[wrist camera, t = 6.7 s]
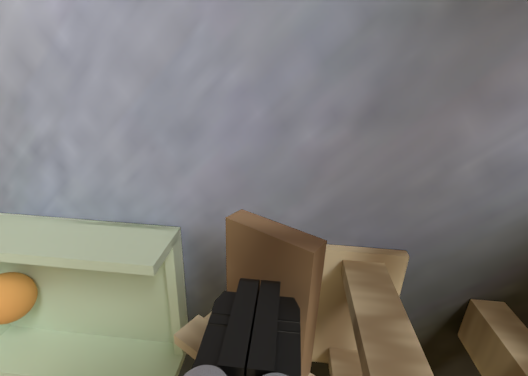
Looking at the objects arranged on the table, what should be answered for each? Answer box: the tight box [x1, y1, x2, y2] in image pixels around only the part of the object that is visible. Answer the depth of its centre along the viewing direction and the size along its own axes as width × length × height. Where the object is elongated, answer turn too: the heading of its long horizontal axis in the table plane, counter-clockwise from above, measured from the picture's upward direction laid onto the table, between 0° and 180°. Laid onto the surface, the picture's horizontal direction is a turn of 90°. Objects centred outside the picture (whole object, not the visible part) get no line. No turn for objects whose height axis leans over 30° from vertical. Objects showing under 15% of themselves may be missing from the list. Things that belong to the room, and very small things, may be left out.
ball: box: [0, 272, 38, 325], centre depth 20 cm, size 3×3×3 cm
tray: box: [0, 213, 188, 376], centre depth 19 cm, size 10×14×6 cm
